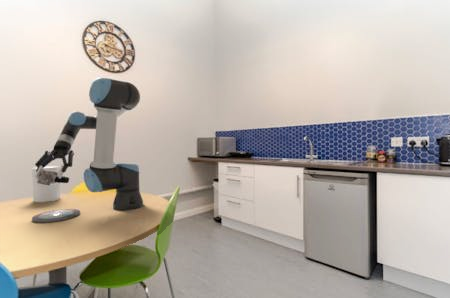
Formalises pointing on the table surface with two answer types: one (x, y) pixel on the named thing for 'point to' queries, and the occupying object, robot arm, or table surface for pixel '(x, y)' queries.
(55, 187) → the canister
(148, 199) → the table surface
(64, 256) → the table surface
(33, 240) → the table surface
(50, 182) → the caster wheel
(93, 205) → the table surface
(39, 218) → the carrier plate
